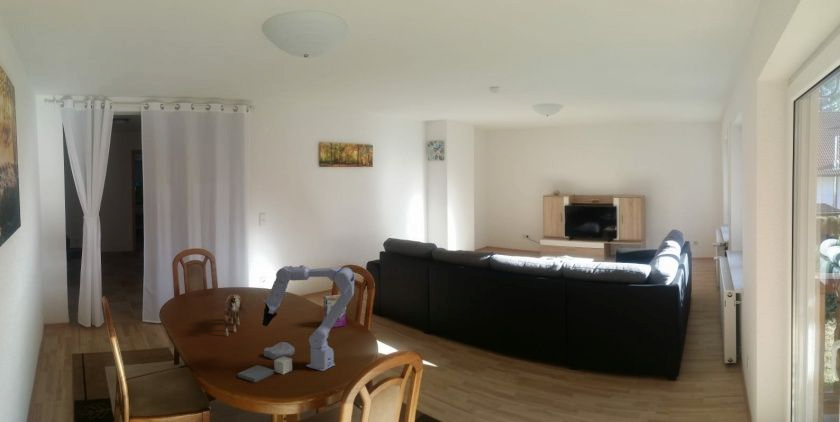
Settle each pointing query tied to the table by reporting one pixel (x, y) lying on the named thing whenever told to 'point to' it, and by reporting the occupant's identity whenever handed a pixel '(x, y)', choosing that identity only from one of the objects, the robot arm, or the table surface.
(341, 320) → the candy bar box
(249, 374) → the slate tile
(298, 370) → the table surface
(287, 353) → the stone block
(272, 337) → the table surface
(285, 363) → the cube
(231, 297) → the brown animal figure
